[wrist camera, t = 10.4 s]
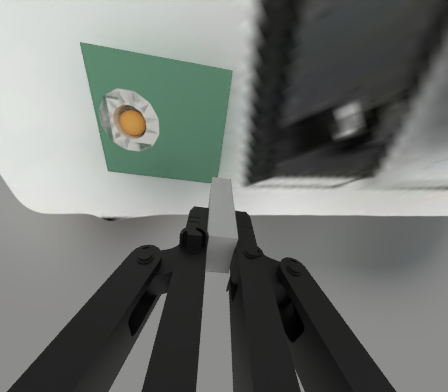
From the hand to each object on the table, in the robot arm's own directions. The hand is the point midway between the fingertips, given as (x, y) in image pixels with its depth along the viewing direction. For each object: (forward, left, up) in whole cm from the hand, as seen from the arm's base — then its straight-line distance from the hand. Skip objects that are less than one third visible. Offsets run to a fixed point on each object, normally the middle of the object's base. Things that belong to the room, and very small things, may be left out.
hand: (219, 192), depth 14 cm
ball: (-1, -15, -19) cm, 24 cm away
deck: (-1, -9, -21) cm, 23 cm away
